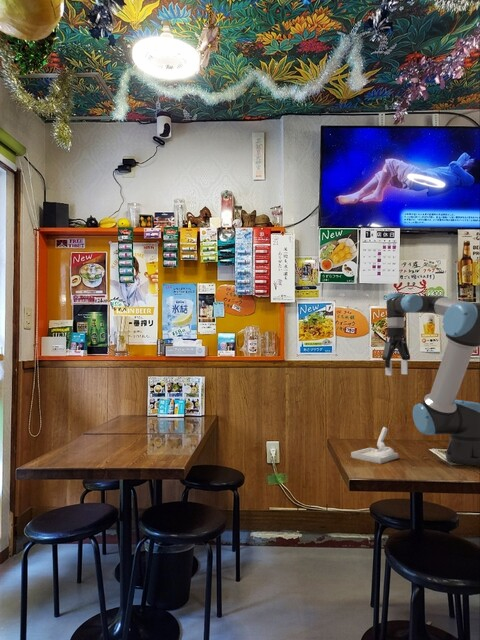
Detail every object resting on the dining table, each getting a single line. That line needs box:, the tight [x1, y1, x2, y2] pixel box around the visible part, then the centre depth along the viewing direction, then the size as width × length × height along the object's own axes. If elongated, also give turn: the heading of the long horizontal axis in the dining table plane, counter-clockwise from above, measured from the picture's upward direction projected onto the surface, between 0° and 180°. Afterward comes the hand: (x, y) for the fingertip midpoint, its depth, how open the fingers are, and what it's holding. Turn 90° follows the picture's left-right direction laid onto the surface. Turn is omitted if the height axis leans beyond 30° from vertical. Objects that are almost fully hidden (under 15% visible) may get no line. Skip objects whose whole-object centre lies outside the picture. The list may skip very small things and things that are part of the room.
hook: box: [375, 426, 395, 457], centre depth 174 cm, size 8×12×7 cm
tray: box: [350, 447, 399, 465], centre depth 175 cm, size 13×13×2 cm
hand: (396, 374), depth 197 cm, fingers open, 13 cm apart
